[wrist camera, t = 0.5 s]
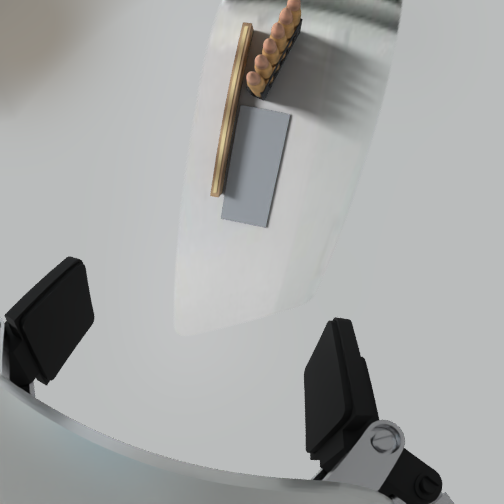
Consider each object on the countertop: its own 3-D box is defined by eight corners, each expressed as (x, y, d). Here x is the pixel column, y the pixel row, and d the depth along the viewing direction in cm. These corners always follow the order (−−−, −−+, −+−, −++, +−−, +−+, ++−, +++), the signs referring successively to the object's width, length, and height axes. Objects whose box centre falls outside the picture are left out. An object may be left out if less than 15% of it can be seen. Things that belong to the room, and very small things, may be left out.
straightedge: (245, 28, 25) (243, 22, 23) (253, 29, 25) (251, 23, 23) (214, 190, 35) (210, 196, 33) (222, 192, 35) (218, 197, 33)
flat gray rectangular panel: (240, 105, 30) (240, 105, 30) (290, 114, 30) (290, 114, 30) (221, 217, 37) (220, 218, 37) (265, 226, 37) (265, 227, 37)
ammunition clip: (264, 100, 30) (256, 88, 19) (250, 94, 29) (235, 80, 19) (300, 31, 25) (309, -9, 14) (286, 25, 25) (288, -17, 14)
